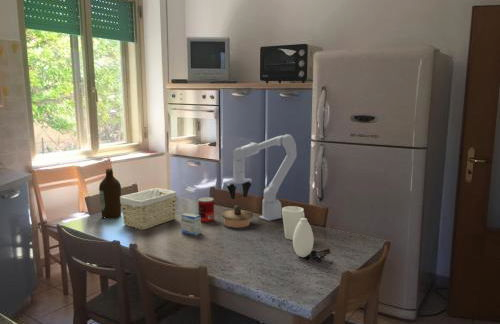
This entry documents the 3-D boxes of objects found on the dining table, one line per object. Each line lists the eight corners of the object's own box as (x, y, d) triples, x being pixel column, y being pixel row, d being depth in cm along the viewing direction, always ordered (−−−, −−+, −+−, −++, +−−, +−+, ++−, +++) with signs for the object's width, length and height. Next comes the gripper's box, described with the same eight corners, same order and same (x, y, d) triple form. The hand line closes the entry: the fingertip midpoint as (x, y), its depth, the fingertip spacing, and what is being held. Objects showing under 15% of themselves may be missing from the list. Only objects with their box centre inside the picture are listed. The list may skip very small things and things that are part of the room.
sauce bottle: (299, 251, 171) (300, 208, 168) (316, 255, 166) (317, 211, 163) (288, 256, 165) (289, 212, 162) (306, 261, 160) (307, 216, 157)
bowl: (239, 218, 216) (239, 211, 215) (254, 224, 206) (254, 216, 206) (220, 222, 209) (220, 215, 208) (234, 229, 199) (234, 220, 199)
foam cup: (301, 241, 182) (302, 212, 180) (280, 240, 184) (280, 211, 182) (303, 234, 192) (304, 206, 190) (283, 233, 193) (283, 205, 191)
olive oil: (119, 212, 226) (117, 166, 222) (124, 217, 217) (121, 169, 213) (99, 215, 221) (96, 168, 217) (102, 220, 212) (99, 171, 208)
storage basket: (141, 231, 195) (140, 200, 193) (119, 225, 204) (117, 195, 202) (178, 219, 214) (178, 191, 212) (156, 214, 224) (156, 187, 221)
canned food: (215, 218, 217) (215, 197, 215) (212, 222, 209) (212, 201, 207) (200, 217, 217) (200, 196, 216) (197, 222, 210) (196, 200, 208)
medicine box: (181, 233, 193) (180, 214, 192) (187, 230, 197) (186, 212, 196) (195, 235, 190) (195, 217, 188) (201, 233, 193) (200, 214, 192)
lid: (244, 210, 216) (244, 200, 216) (258, 218, 203) (258, 207, 202) (217, 214, 210) (217, 204, 209) (229, 222, 197) (229, 211, 196)
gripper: (245, 169, 222) (245, 194, 224) (222, 172, 213) (222, 198, 215) (254, 171, 216) (253, 196, 218) (230, 174, 207) (230, 201, 210)
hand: (239, 197), depth 216 cm, fingers open, 7 cm apart
